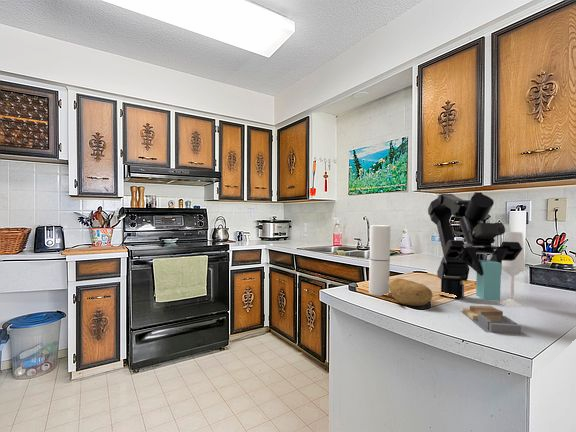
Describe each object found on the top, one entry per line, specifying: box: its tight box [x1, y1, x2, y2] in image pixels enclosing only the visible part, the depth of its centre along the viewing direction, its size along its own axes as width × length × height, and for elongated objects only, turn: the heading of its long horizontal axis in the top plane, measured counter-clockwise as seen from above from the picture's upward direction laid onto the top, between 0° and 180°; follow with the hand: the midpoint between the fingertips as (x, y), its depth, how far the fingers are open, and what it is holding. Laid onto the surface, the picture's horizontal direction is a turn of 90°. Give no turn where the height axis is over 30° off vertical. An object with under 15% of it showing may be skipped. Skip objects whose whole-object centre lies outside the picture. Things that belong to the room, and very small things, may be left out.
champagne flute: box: [498, 231, 526, 308], centre depth 100 cm, size 7×7×24 cm
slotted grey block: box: [460, 310, 527, 336], centre depth 81 cm, size 16×9×3 cm, turn 171°
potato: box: [389, 278, 434, 307], centre depth 98 cm, size 10×14×8 cm
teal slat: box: [475, 259, 502, 302], centre depth 83 cm, size 4×4×10 cm
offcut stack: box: [461, 305, 504, 322], centre depth 85 cm, size 7×8×2 cm
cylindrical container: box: [368, 224, 391, 297], centre depth 111 cm, size 7×7×25 cm
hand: (490, 275), depth 81 cm, fingers closed on teal slat, 4 cm apart
